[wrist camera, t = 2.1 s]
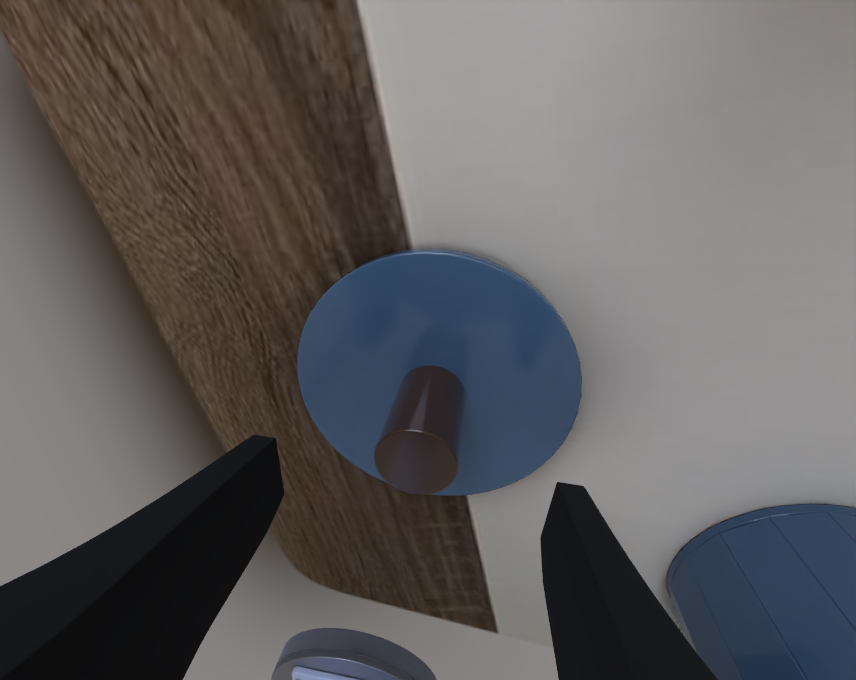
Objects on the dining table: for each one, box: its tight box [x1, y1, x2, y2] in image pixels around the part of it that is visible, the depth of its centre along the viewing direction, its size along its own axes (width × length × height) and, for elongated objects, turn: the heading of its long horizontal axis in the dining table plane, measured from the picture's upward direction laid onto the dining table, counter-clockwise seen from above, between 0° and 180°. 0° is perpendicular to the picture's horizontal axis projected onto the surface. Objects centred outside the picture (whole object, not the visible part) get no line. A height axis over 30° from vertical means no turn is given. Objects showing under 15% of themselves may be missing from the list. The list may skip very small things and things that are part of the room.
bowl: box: [667, 504, 856, 680], centre depth 14 cm, size 9×9×6 cm
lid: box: [297, 249, 582, 496], centre depth 13 cm, size 10×10×5 cm
